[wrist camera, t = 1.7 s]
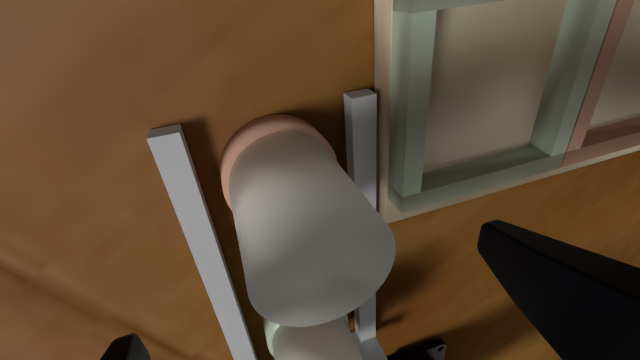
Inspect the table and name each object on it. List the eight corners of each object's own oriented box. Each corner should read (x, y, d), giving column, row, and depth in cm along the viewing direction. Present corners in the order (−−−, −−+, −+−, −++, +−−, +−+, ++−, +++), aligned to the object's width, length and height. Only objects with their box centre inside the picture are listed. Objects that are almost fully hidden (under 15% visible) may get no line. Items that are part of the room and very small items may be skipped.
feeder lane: (370, 333, 21) (387, 368, 19) (245, 379, 20) (251, 423, 18) (367, 88, 13) (398, 106, 11) (149, 129, 11) (139, 160, 9)
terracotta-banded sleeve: (331, 197, 15) (398, 301, 10) (233, 223, 14) (256, 351, 9) (324, 104, 13) (406, 180, 8) (206, 126, 12) (217, 229, 7)
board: (625, 139, 20) (673, 156, 18) (374, 209, 16) (399, 240, 14) (729, -99, 14) (816, -113, 12) (374, -72, 10) (416, -85, 8)
